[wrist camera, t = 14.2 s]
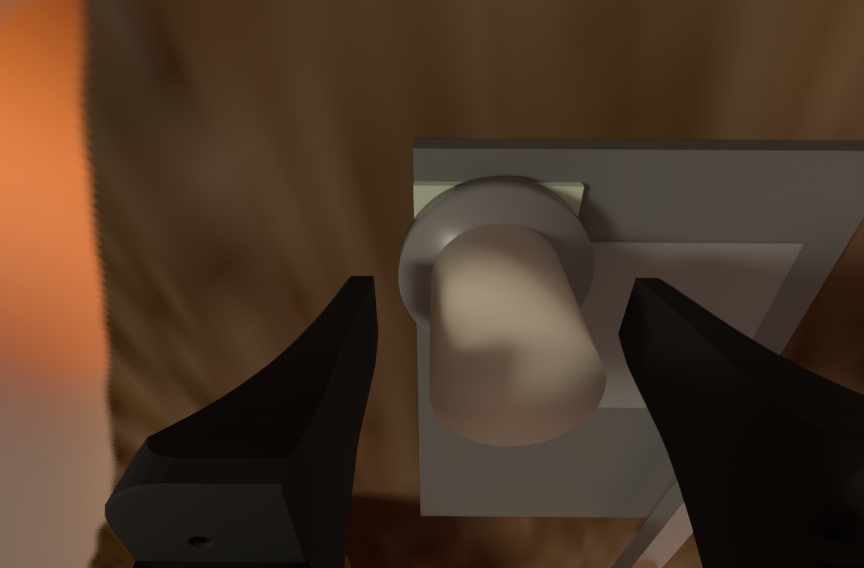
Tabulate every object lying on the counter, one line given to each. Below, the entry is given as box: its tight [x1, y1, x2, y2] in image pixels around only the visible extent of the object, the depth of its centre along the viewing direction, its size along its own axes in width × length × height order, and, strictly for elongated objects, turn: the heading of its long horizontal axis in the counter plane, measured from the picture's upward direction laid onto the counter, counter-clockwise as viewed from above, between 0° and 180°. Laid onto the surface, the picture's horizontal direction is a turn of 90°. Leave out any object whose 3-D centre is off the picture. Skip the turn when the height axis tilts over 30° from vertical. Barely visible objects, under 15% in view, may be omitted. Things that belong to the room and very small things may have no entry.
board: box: [413, 138, 864, 518], centre depth 19 cm, size 14×20×2 cm
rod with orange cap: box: [611, 480, 693, 568], centre depth 20 cm, size 14×2×2 cm, turn 173°
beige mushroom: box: [399, 176, 606, 446], centre depth 13 cm, size 6×6×6 cm
